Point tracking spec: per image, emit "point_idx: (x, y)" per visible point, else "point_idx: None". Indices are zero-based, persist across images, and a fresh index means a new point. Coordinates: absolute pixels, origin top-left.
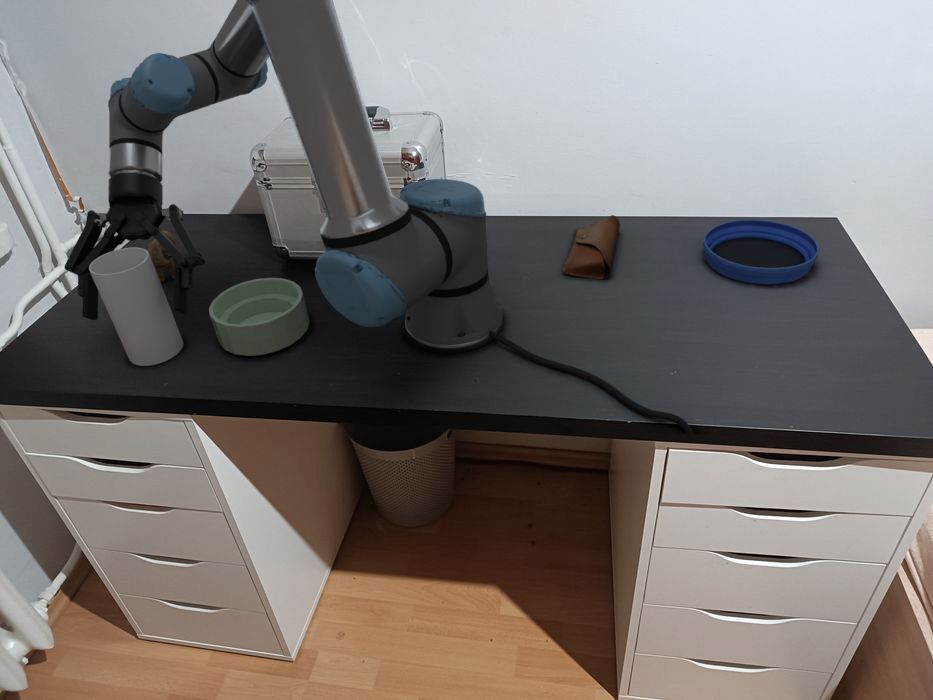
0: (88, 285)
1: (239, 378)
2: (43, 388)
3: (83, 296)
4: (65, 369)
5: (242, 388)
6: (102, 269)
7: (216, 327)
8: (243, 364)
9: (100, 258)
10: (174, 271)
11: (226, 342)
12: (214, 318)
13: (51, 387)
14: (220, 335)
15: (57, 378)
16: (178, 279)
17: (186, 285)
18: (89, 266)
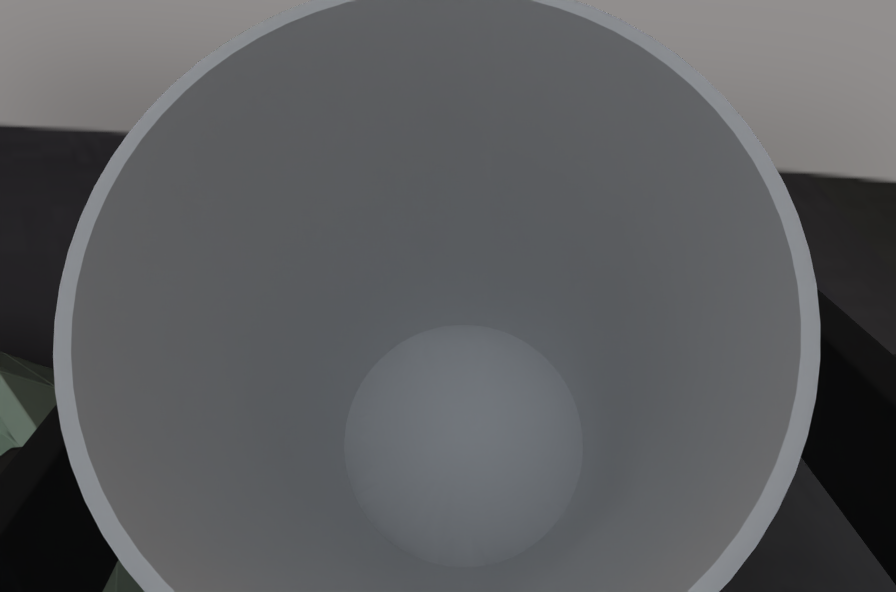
0: (859, 378)
1: (28, 237)
2: (838, 181)
3: (847, 321)
4: (835, 304)
5: (7, 180)
6: (734, 393)
7: (41, 395)
8: (24, 326)
9: (782, 408)
10: (12, 504)
11: (46, 374)
12: (5, 398)
13: (806, 187)
14: (51, 384)
15: (825, 243)
16: (18, 452)
17: (9, 460)
18: (763, 151)
